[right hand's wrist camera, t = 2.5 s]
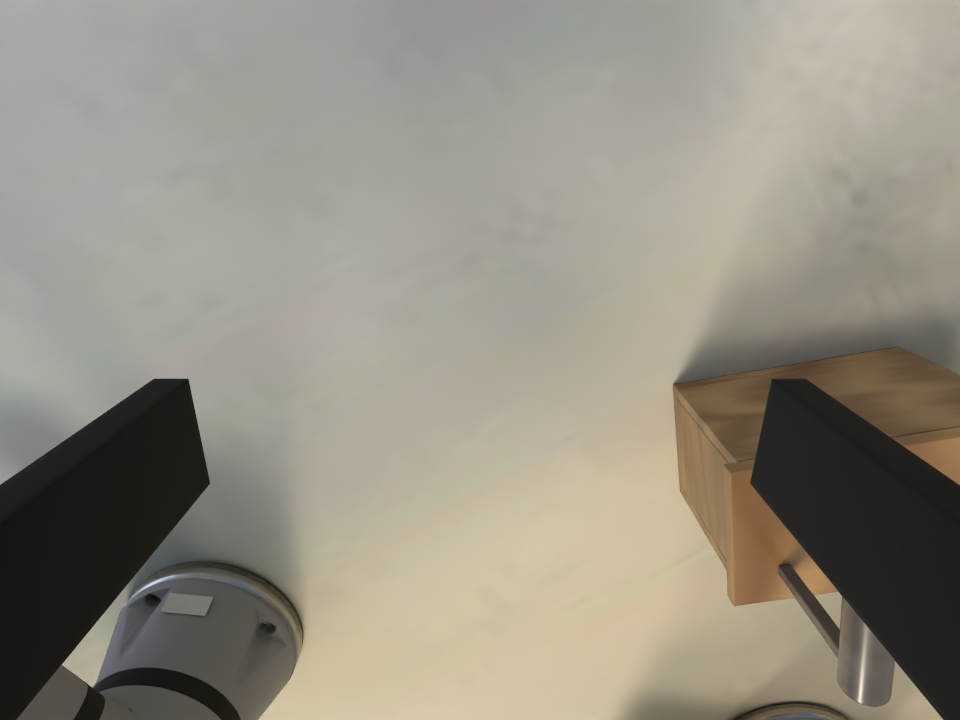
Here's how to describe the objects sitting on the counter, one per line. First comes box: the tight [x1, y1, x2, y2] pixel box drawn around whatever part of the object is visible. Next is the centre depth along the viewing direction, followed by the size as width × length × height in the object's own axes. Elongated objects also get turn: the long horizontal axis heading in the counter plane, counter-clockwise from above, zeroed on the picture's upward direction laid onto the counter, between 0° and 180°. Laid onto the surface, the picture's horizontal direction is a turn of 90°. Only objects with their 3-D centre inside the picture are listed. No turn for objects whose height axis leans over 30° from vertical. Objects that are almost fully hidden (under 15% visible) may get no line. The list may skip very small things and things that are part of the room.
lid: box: [723, 427, 960, 707], centre depth 27 cm, size 17×10×9 cm, turn 101°
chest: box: [673, 347, 960, 570], centre depth 36 cm, size 16×10×11 cm, turn 101°
